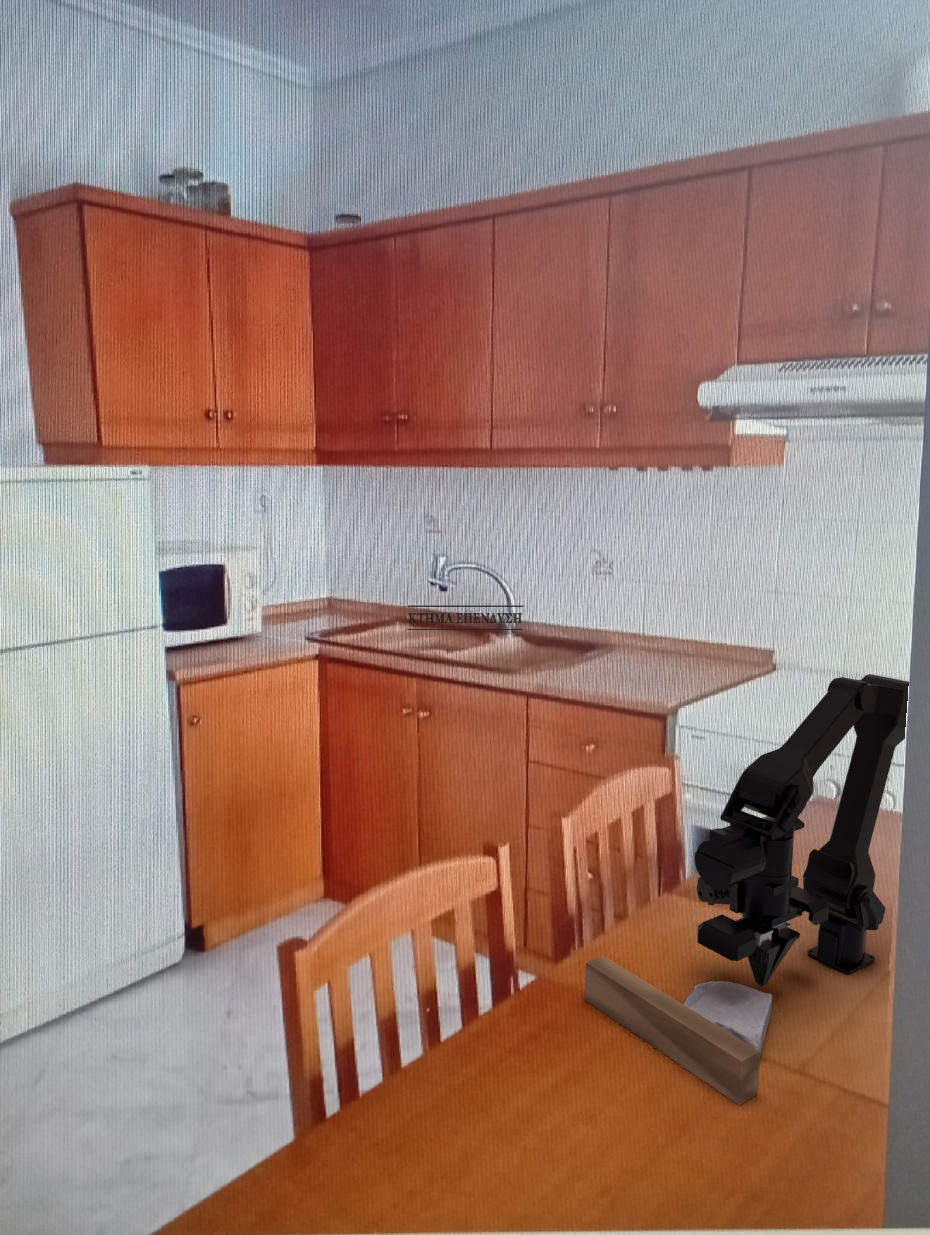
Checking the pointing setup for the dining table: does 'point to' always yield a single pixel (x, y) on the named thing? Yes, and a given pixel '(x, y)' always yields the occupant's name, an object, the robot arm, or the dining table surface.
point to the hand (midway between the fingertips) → (761, 983)
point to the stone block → (734, 1009)
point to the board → (674, 1029)
